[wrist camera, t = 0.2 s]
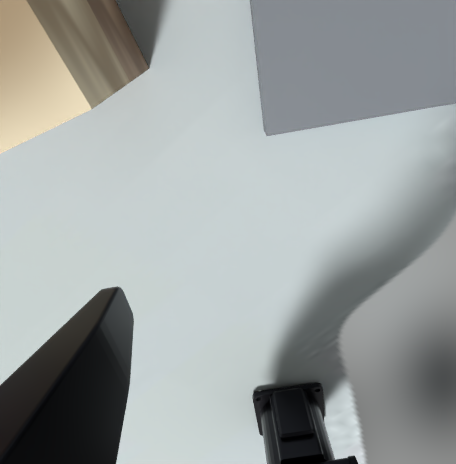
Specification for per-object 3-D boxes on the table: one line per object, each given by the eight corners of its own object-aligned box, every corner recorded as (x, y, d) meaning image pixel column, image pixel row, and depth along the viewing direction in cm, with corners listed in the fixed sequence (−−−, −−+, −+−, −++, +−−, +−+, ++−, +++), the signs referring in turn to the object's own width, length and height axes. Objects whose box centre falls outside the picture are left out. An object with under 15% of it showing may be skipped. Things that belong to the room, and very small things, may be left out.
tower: (149, 68, 19) (91, 108, 10) (77, 103, 20) (-42, 173, 10) (102, -27, 17) (-33, -97, 7) (24, 16, 18) (-191, 3, 8)
